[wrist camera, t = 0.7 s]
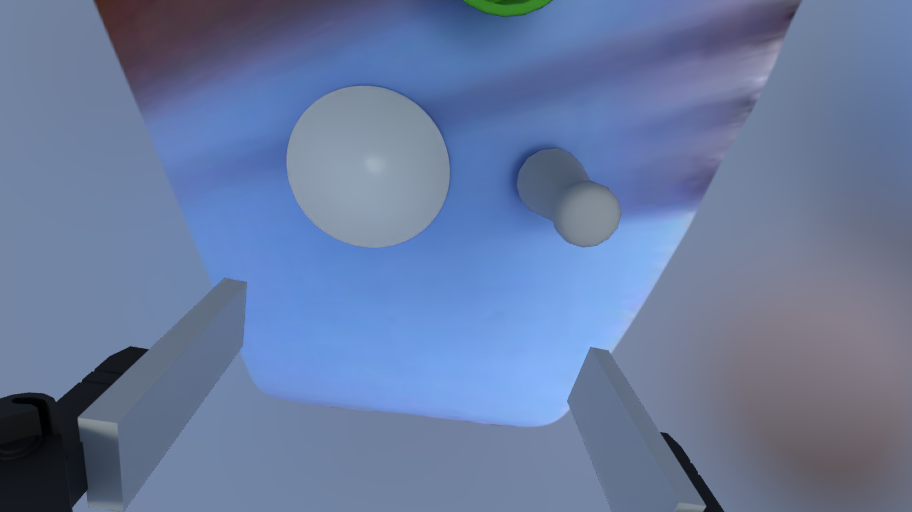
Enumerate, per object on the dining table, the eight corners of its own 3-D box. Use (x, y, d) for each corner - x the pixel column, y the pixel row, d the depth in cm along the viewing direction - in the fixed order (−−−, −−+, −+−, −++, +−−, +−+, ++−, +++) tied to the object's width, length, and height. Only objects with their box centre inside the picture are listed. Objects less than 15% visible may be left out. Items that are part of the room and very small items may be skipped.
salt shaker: (537, 131, 37) (587, 155, 25) (587, 166, 39) (657, 205, 27) (499, 186, 39) (529, 234, 27) (548, 218, 40) (597, 276, 28)
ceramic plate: (356, 46, 34) (353, 45, 33) (481, 164, 38) (483, 166, 37) (259, 175, 38) (253, 178, 36) (383, 270, 42) (381, 275, 40)
